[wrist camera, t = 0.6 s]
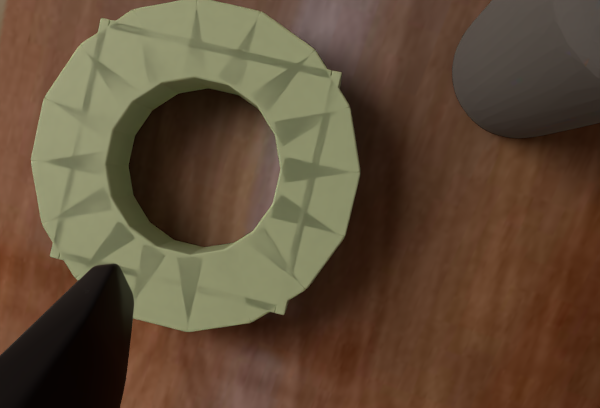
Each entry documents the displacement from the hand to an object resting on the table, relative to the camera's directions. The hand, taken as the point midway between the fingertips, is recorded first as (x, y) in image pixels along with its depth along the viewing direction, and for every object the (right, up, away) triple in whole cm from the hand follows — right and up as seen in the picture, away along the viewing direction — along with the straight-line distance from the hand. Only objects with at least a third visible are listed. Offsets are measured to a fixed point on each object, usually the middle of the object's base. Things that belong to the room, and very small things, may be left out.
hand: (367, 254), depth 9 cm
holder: (-5, +3, +14) cm, 16 cm away
